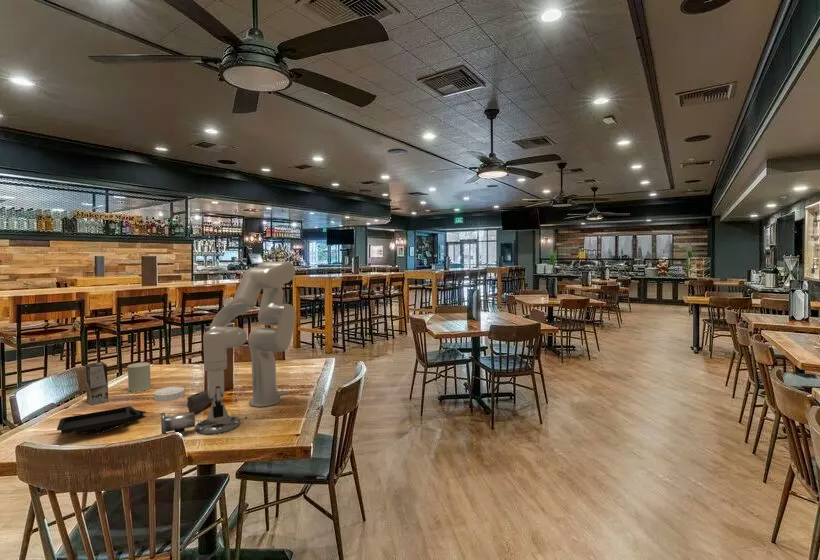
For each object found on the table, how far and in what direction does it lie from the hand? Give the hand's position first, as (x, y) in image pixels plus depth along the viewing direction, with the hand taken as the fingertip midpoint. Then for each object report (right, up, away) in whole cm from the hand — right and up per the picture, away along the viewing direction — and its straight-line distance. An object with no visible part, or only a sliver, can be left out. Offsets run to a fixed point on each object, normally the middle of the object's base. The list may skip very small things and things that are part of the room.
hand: (217, 413), depth 156 cm
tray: (-41, -6, +1) cm, 42 cm away
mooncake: (-37, -4, +35) cm, 51 cm away
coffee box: (-65, -4, +30) cm, 72 cm away
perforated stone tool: (-15, -4, +19) cm, 25 cm away
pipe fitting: (-4, -5, -2) cm, 7 cm away
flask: (0, -2, 0) cm, 2 cm away
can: (-58, -3, +47) cm, 74 cm away
